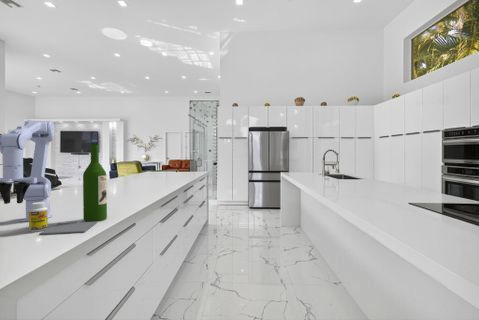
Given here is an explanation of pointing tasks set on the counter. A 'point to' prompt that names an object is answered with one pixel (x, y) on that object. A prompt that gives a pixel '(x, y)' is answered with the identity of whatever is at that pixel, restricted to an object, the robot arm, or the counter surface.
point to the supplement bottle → (38, 217)
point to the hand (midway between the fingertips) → (13, 203)
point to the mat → (68, 228)
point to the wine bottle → (94, 189)
